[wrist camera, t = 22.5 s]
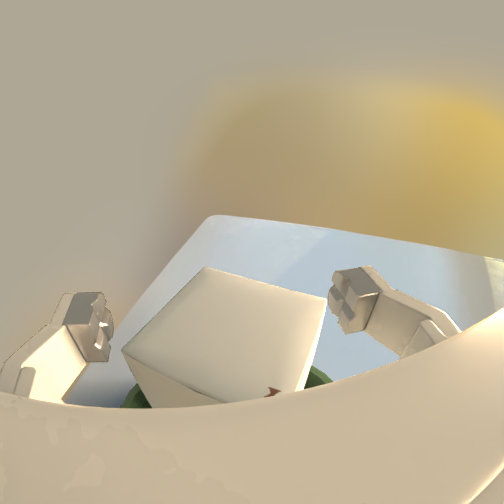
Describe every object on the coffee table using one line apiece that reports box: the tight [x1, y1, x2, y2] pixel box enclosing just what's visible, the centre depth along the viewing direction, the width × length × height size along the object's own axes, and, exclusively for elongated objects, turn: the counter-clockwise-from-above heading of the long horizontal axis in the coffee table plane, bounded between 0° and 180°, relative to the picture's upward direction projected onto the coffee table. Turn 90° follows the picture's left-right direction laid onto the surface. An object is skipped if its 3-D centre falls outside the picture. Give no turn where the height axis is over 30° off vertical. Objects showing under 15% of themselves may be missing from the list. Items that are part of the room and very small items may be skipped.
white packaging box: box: [121, 267, 327, 408], centre depth 15 cm, size 7×7×13 cm
